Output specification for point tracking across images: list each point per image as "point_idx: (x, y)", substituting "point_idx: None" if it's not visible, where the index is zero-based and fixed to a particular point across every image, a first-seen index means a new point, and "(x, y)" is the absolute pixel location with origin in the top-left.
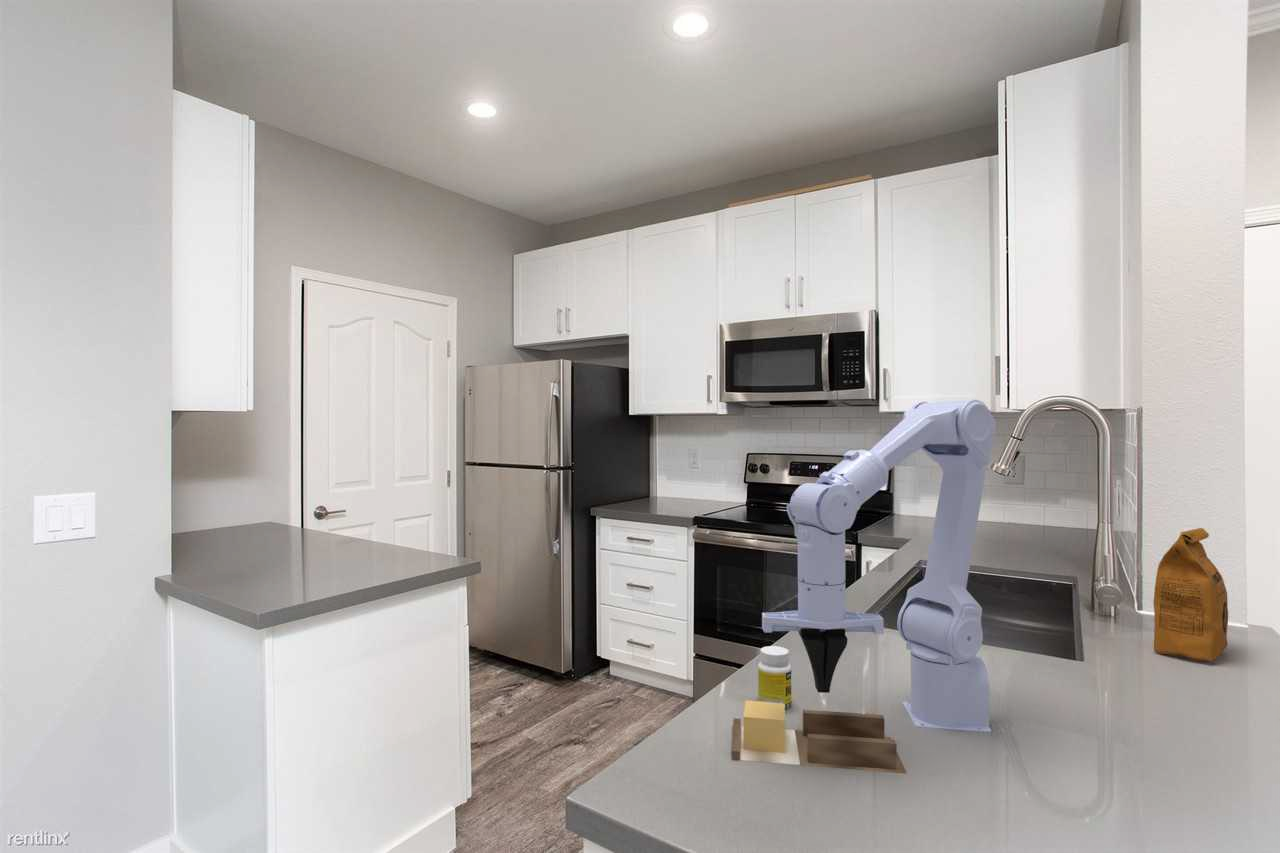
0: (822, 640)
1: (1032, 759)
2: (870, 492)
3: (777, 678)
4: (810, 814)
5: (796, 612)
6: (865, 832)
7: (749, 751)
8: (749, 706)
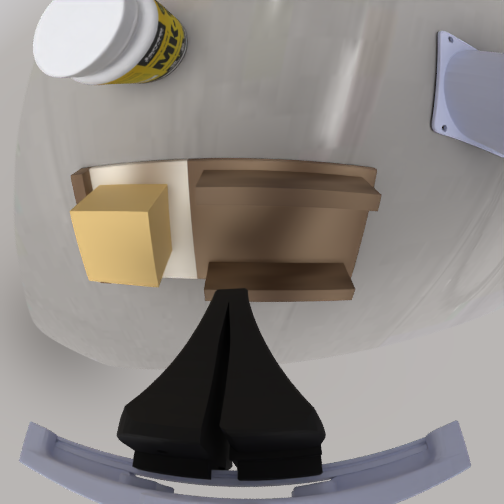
0: (226, 466)
1: (498, 215)
2: None
3: (117, 81)
4: None
5: (102, 496)
6: None
7: None
8: (83, 238)
